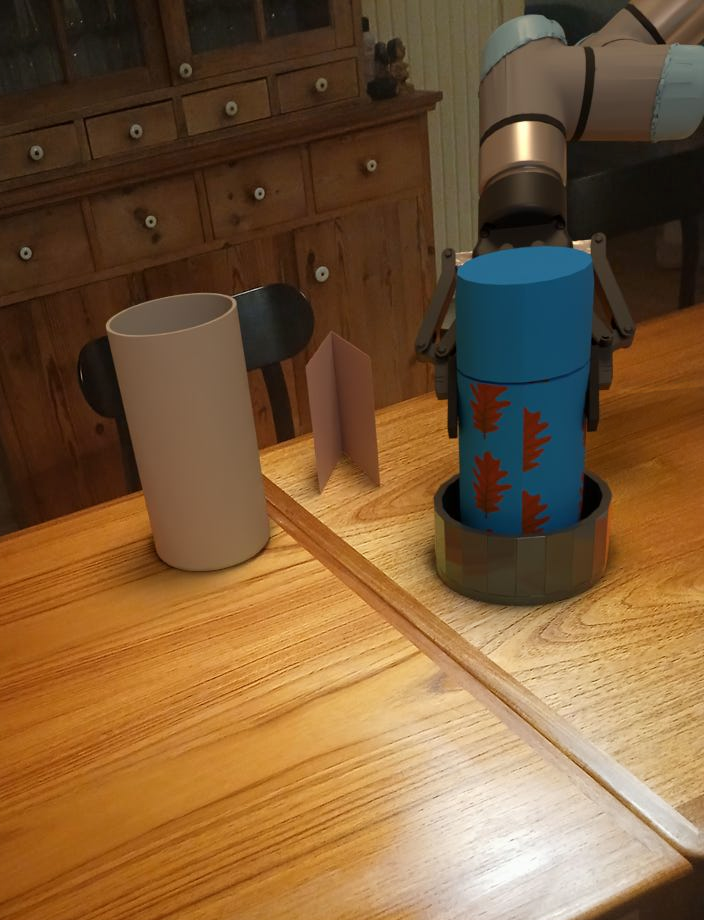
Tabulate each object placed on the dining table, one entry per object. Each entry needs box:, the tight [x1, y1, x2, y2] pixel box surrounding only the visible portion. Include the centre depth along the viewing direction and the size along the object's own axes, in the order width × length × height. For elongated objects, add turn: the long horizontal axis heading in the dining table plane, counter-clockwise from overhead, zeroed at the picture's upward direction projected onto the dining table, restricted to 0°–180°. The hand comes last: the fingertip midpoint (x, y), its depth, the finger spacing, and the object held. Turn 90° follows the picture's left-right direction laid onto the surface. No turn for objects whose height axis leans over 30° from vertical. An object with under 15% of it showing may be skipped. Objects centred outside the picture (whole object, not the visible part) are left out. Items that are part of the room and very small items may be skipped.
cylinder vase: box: [105, 292, 271, 572], centre depth 100 cm, size 12×12×25 cm
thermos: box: [454, 246, 595, 534], centre depth 86 cm, size 11×11×25 cm
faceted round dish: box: [432, 468, 613, 607], centre depth 92 cm, size 16×16×7 cm
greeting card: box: [305, 330, 381, 495], centre depth 112 cm, size 11×7×15 cm, turn 161°
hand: (521, 429), depth 84 cm, fingers closed on thermos, 11 cm apart
